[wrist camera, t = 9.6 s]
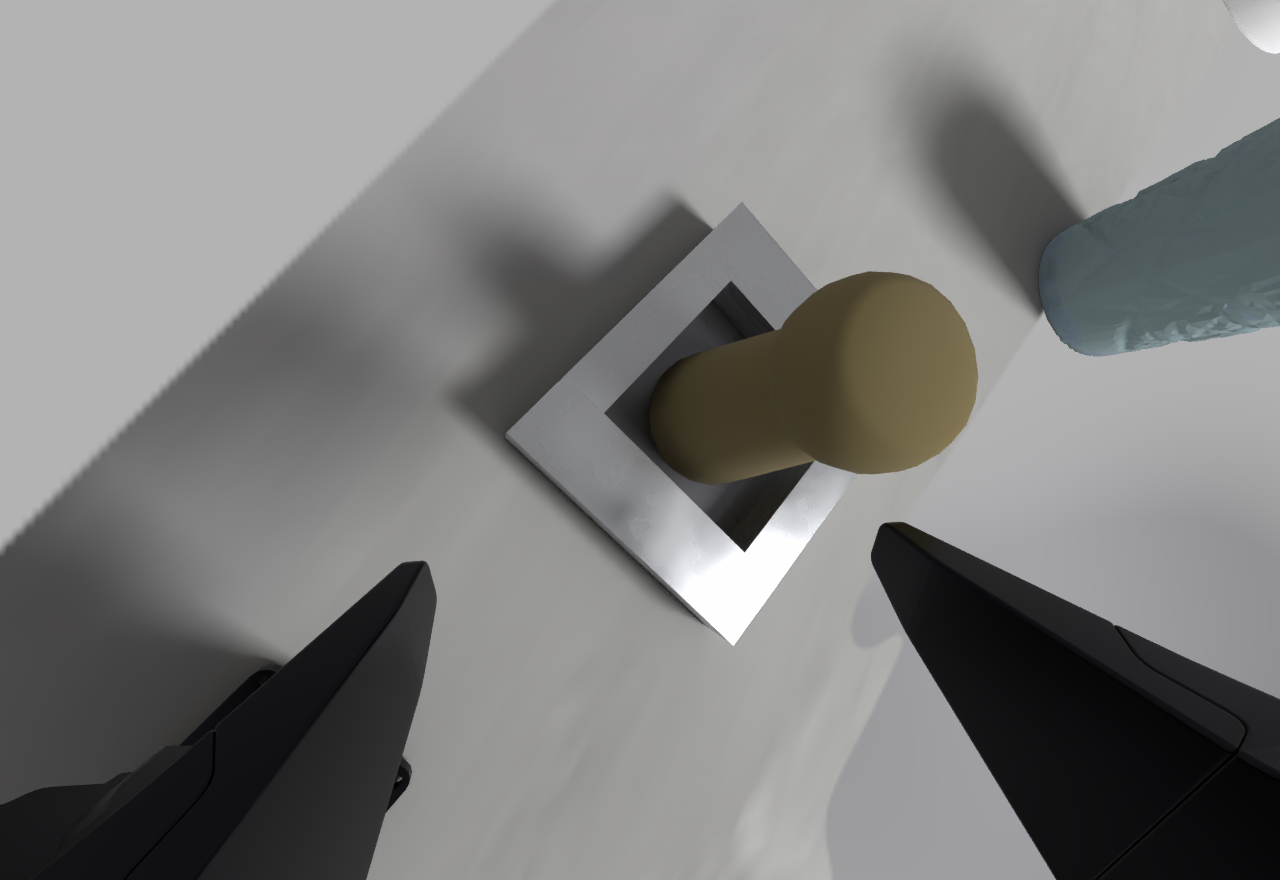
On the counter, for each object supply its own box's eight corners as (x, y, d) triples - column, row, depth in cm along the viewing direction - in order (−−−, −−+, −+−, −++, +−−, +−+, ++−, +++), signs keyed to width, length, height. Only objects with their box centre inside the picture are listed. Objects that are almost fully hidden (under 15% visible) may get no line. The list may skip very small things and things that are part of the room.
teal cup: (1117, 393, 31) (1489, 343, 19) (1010, 322, 28) (1364, 215, 17) (1143, 263, 32) (1495, 146, 21) (1044, 185, 30) (1383, 6, 19)
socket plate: (706, 626, 21) (740, 650, 18) (505, 438, 19) (506, 430, 16) (870, 407, 24) (922, 397, 21) (715, 231, 22) (749, 193, 20)
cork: (652, 343, 21) (818, 203, 10) (772, 361, 22) (1020, 258, 12) (645, 480, 20) (811, 484, 9) (768, 488, 22) (1024, 499, 11)
